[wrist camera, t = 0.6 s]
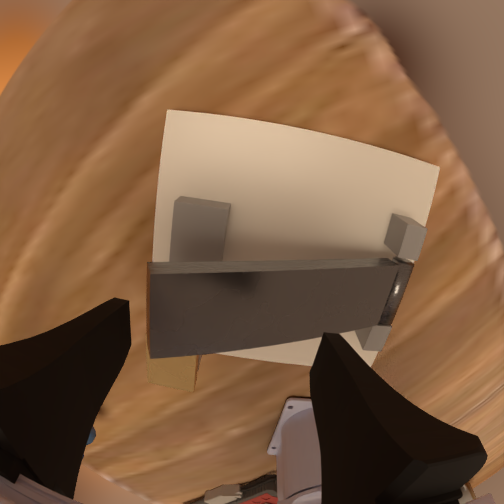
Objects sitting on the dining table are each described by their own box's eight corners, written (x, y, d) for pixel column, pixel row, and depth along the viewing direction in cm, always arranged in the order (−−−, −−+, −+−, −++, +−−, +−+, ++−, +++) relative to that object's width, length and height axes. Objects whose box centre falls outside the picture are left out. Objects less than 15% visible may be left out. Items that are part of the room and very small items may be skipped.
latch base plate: (364, 358, 24) (378, 394, 20) (156, 329, 23) (140, 364, 19) (429, 164, 18) (463, 173, 14) (174, 111, 18) (151, 106, 14)
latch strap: (402, 256, 18) (418, 265, 17) (382, 311, 19) (396, 322, 18) (146, 259, 12) (150, 276, 11) (146, 341, 13) (150, 362, 12)
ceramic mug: (469, 483, 38) (480, 510, 30) (435, 502, 39) (443, 529, 32) (465, 470, 35) (478, 501, 28) (426, 492, 37) (436, 523, 30)
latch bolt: (196, 379, 19) (193, 392, 18) (152, 370, 19) (147, 382, 18) (200, 332, 18) (197, 344, 17) (151, 322, 18) (145, 333, 17)
